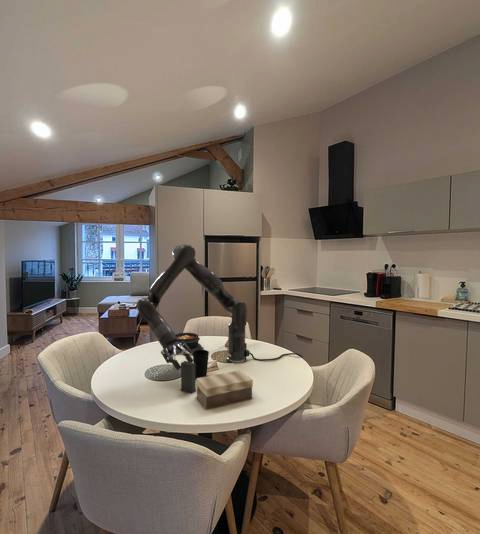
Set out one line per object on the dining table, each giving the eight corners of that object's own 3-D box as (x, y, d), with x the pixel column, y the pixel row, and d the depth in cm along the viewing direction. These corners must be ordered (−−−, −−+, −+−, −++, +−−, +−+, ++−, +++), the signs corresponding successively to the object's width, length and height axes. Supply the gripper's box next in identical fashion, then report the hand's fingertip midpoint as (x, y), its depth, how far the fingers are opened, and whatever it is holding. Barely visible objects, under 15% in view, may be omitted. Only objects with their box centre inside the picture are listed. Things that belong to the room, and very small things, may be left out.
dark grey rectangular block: (185, 387, 137) (185, 360, 136) (196, 390, 134) (196, 362, 133) (180, 390, 134) (180, 362, 133) (191, 393, 131) (191, 365, 130)
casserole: (210, 351, 186) (210, 337, 186) (184, 358, 174) (184, 343, 174) (186, 341, 205) (186, 329, 204) (161, 347, 192) (161, 334, 192)
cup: (211, 375, 150) (211, 350, 149) (205, 381, 143) (205, 355, 142) (196, 373, 153) (196, 348, 152) (189, 379, 145) (189, 353, 145)
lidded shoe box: (239, 388, 136) (239, 370, 136) (252, 399, 126) (252, 379, 126) (196, 397, 127) (196, 378, 127) (206, 409, 117) (206, 389, 117)
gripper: (158, 334, 131) (180, 365, 126) (180, 327, 143) (200, 355, 138) (149, 344, 134) (170, 376, 129) (171, 336, 146) (190, 365, 141)
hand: (185, 365), depth 134 cm, fingers open, 8 cm apart
